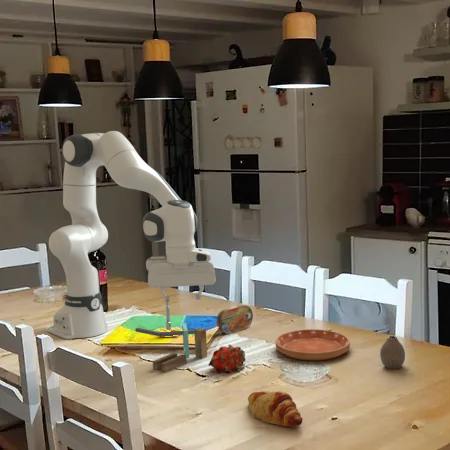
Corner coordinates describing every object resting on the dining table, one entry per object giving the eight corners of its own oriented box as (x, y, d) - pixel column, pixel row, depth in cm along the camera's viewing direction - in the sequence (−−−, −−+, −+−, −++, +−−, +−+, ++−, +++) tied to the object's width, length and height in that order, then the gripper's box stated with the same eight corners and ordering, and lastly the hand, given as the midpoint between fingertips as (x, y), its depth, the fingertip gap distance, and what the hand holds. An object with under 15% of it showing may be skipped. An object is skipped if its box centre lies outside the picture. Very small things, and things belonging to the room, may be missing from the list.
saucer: (364, 348, 215) (364, 336, 215) (321, 369, 199) (321, 356, 198) (305, 335, 231) (304, 325, 230) (260, 354, 214) (260, 342, 214)
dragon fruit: (250, 373, 201) (213, 387, 197) (236, 351, 207) (200, 364, 202) (254, 356, 196) (216, 370, 191) (240, 334, 201) (203, 347, 196)
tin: (221, 336, 233) (220, 312, 232) (215, 334, 236) (214, 310, 235) (254, 326, 243) (253, 303, 242) (247, 325, 246) (246, 301, 244)
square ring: (185, 358, 206) (183, 331, 204) (183, 349, 214) (182, 323, 213) (189, 358, 206) (187, 330, 205) (187, 349, 214) (186, 323, 213)
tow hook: (162, 331, 244) (156, 337, 235) (161, 295, 243) (154, 300, 234) (186, 331, 243) (180, 338, 234) (184, 295, 242) (179, 300, 233)
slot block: (153, 372, 201) (152, 361, 201) (174, 363, 208) (173, 352, 208) (165, 376, 198) (165, 364, 198) (186, 366, 205) (185, 355, 205)
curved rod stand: (137, 358, 215) (135, 328, 214) (162, 347, 224) (161, 319, 223) (188, 370, 202) (186, 338, 201) (213, 358, 211) (211, 328, 210)
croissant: (241, 418, 176) (227, 395, 173) (269, 392, 180) (255, 369, 177) (293, 447, 158) (278, 422, 155) (322, 417, 162) (308, 392, 159)
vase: (406, 363, 200) (405, 334, 198) (404, 371, 193) (403, 341, 192) (381, 361, 202) (381, 332, 201) (379, 370, 195) (378, 340, 194)
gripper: (145, 258, 201) (147, 305, 203) (215, 255, 204) (217, 300, 206) (145, 254, 207) (147, 299, 210) (213, 251, 210) (214, 295, 212)
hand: (182, 300), depth 208 cm, fingers open, 8 cm apart
